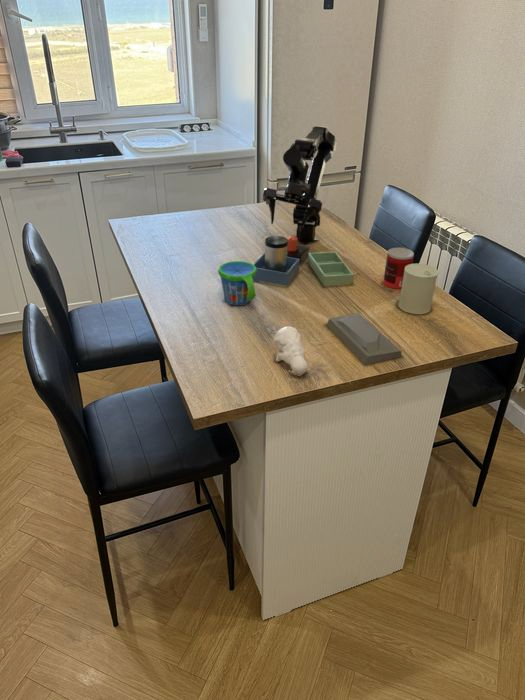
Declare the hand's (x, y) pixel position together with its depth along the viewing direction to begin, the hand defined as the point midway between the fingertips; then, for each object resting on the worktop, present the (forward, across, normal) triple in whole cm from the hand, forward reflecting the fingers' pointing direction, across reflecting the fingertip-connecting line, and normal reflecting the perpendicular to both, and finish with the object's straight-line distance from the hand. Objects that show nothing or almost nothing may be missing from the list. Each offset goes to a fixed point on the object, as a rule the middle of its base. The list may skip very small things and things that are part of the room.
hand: (286, 227), depth 173 cm
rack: (+11, +17, +2) cm, 20 cm away
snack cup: (+28, -9, -13) cm, 32 cm away
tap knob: (+4, +3, +11) cm, 12 cm away
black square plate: (+7, +4, +12) cm, 15 cm away
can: (+18, +41, -16) cm, 48 cm away
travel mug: (+16, 0, 0) cm, 16 cm away
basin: (+16, 0, 0) cm, 16 cm away
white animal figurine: (+43, +8, -41) cm, 60 cm away
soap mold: (+32, +25, -31) cm, 52 cm away
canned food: (+11, +37, -4) cm, 39 cm away
